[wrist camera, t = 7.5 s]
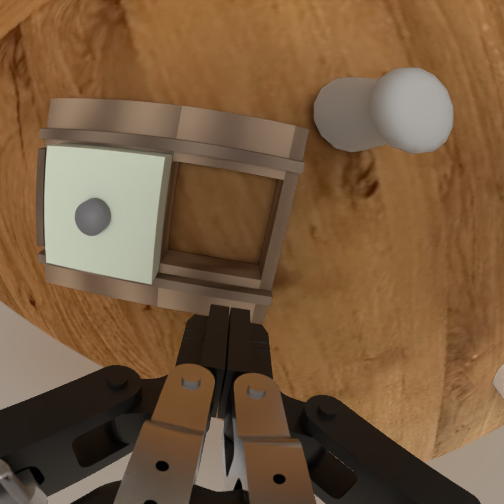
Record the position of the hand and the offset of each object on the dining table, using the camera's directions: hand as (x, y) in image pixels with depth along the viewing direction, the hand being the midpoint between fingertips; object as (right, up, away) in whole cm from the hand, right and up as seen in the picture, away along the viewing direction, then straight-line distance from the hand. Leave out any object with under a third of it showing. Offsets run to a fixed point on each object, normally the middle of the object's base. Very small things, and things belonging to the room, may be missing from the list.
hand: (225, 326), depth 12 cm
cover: (-10, +6, +10) cm, 16 cm away
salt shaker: (+8, +14, +12) cm, 20 cm away
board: (-6, +7, +14) cm, 17 cm away
